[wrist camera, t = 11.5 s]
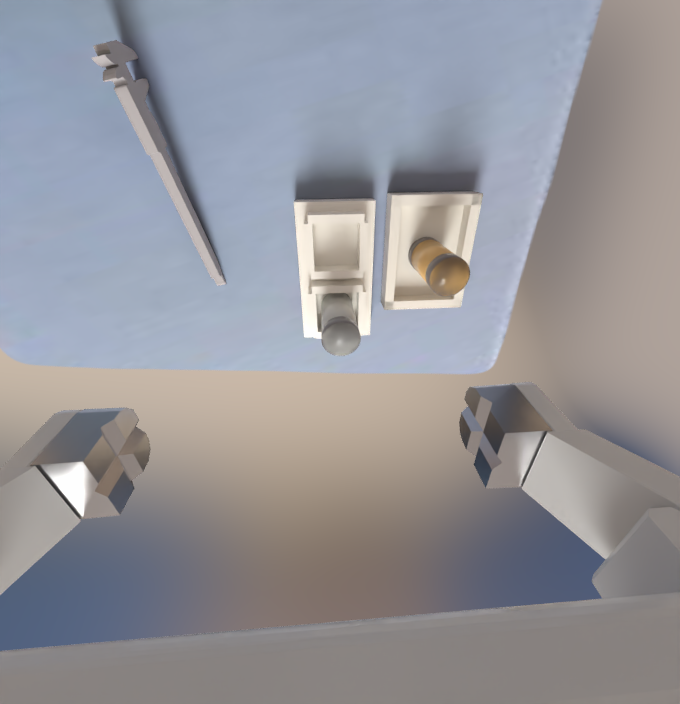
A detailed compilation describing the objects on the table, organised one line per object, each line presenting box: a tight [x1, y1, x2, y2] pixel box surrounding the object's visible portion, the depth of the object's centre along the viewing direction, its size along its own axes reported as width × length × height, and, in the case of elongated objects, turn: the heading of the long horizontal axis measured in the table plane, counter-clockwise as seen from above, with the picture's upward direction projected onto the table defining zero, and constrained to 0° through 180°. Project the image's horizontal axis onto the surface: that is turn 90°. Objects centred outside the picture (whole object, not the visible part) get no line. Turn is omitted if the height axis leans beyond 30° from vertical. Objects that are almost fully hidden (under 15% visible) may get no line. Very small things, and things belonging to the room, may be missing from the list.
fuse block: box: [294, 198, 376, 356], centre depth 33 cm, size 15×8×10 cm, turn 1°
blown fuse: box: [408, 237, 470, 296], centre depth 33 cm, size 4×4×8 cm
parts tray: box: [381, 191, 483, 310], centre depth 36 cm, size 12×9×2 cm
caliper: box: [92, 40, 226, 286], centre depth 30 cm, size 20×1×6 cm, turn 11°
